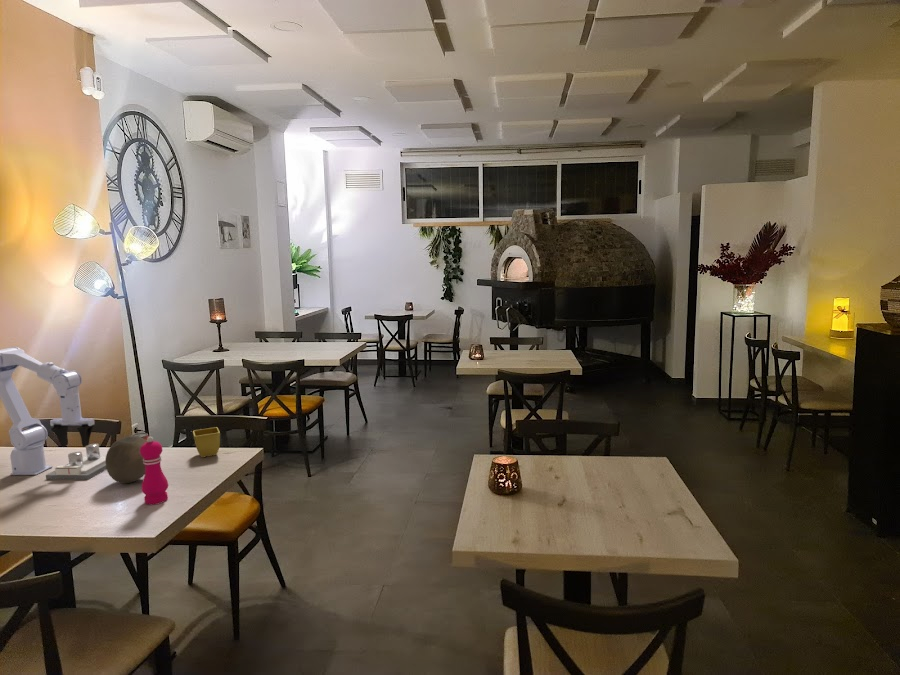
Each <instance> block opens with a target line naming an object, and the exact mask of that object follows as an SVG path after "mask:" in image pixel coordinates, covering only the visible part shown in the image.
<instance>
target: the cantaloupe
mask: <svg viewBox="0 0 900 675" xmlns="http://www.w3.org/2000/svg"><path fill="white" fill-rule="evenodd" d="M146 442H147V440H145V439H143V438H141V437H139V436H131V435H128V436H124V437H121V438H120V439H117V440H115V441H114V442H113V443H112V444H111V446H110V447H109V448H108V450H107V453H106V455H105V457H106V460H105V461H106V468H107V469H106V471H107V474H108V475H109V476H110V478H111V479H112V480H114V481H116V482H117V483H120V484H131V483H134V482H136V481H138V480H140V479H141V478H142V477H144V476H145V464H143V457H142V456H141V454H140V448H141V446H142V445H143V444H144V443H146Z"/></svg>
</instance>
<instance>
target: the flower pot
mask: <svg viewBox="0 0 900 675" xmlns="http://www.w3.org/2000/svg"><path fill="white" fill-rule="evenodd" d="M192 434H193V439H194V444H195V447H196V450H197V453H198V455H199V456H200V457H201V458H205V457H206V456H207V457H212V455H213V456H216V455H217V454H218V452H219V449H220V445H221V432H220V430H219V428H218V427H217V426H216V427H215V426H214V427H209V428H203V429H202V428H201V429H195V430H193V431H192Z"/></svg>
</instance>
